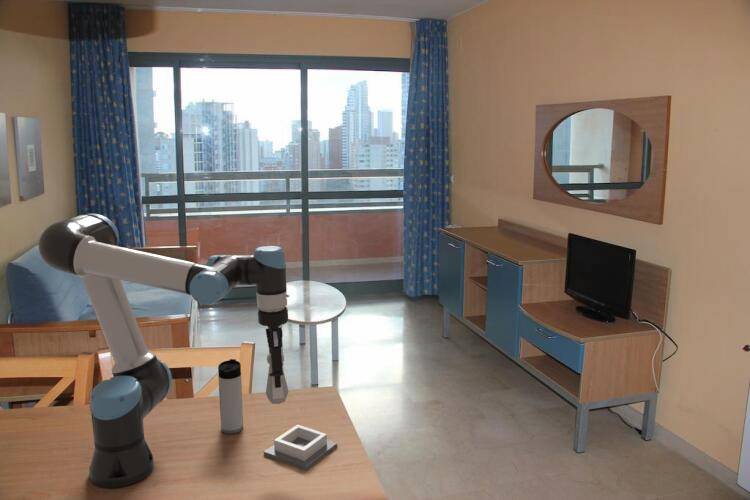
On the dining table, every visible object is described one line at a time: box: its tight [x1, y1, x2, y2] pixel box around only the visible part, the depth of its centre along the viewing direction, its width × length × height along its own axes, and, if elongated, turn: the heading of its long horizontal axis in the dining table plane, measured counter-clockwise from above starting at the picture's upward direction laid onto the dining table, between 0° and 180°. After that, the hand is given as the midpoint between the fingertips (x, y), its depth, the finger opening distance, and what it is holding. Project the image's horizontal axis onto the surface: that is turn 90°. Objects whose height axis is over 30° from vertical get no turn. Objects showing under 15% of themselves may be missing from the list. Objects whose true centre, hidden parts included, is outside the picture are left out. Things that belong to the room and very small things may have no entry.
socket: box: [263, 424, 338, 471], centre depth 172 cm, size 14×14×4 cm
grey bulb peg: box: [265, 353, 289, 405], centre depth 166 cm, size 6×6×13 cm
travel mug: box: [217, 358, 244, 435], centre depth 182 cm, size 6×7×20 cm
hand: (277, 392), depth 167 cm, fingers closed on grey bulb peg, 6 cm apart
